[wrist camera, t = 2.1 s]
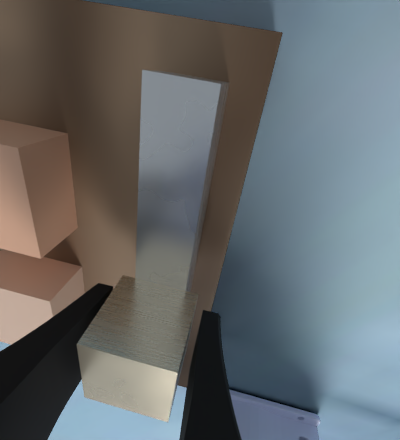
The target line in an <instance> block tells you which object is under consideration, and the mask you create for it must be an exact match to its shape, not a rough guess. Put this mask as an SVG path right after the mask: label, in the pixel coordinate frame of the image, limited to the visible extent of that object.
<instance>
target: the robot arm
mask: <svg viewBox="0 0 400 440" xmlns="http://www.w3.org/2000/svg"><path fill="white" fill-rule="evenodd" d="M112 291H113V286H109V285H106V284H102V283H98V284H96V285H95V286H93V287H92V288H91V289H89V290H88V291H87V292H86V293H84V294H83V295H82V296H80V297H79V298H78V299H76V300H75V301H74V302H72V303H71V304H70V305H68V306H67V307H66V308H64V309H63V310H62V311H60V312H59V313H57V314H56V315H55V316H53V317H52V318H50V319H49V320H48V321H46V322H45V323H43V324H42V325H41V326H39V327H38V328H36V329H35V330H33V331H31V332H30V333H28V334H27V335H25V336H24V337H22V338H21V339H19V340H18V341H16V342H15V343H13V344H12V345H10V346H8V347H7V348H5V349H4V350H2V351H0V440H47V439H48V437H49V435H50V433H51V431H52V429H53V427H54V425H55V423H56V422H57V420H58V418H59V416H60V414H61V412H62V411H63V409H64V407H65V405H66V403H67V402H68V400H69V399H70V397H71V395H72V394H73V392H74V390H75V389H76V387H77V386H78V384H79V382H80V381H81V379H82V377H81V371H80V364H79V357H78V351H77V343H78V341H79V340H80V338H81V337H82V335H83V334H84V332H85V331H86V330H87V328H88V327H89V325H90V324H91V322H92V321H93V319H94V318H95V316H96V315H97V313H98V312H99V310H100V309H101V307H102V306H103V304H104V303H105V301H106V300H107V298H108V297H109V295H110V294H111V292H112ZM220 318H221V316H220V315H219V314H218V313H214V312H210V311H206V310H203V312H202V316H201V321H200V325H199V329H198V334H197V338H196V342H195V347H194V351H193V356H192V360H191V364H190V369H189V376H188V383H187V390H186V397H185V404H184V411H183V419H182V426H181V433H180V439H179V440H319V436H318V430H317V426H318V425H319V424H320V418H319V416H318V415H317V414H314V413H311V412H307V411H304V410H300V409H296V408H293V407H289V406H286V405H282V404H279V403H275V402H272V401H268V400H265V399H261V398H258V397H254V396H251V395H247V394H244V393H240V392H236V391H233V390H229V386H228V381H227V375H226V369H225V364H224V357H223V350H222V341H221V328H220Z"/></svg>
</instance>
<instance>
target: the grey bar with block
mask: <svg viewBox="0 0 400 440" xmlns="http://www.w3.org/2000/svg"><path fill="white" fill-rule="evenodd" d="M229 84H230V83H229V82H223V81H217V80H212V79H206V78H201V77H195V76H190V75H184V74H179V73H173V72H164V71H152V70H142V87H141V118H140V149H139V180H138V210H137V241H136V272H135V278H133V277H129V276H125V275H123V276H122V277H121V279H120V280H119V282H118V283H117V285H116V286H115V288H114V289H113V291H112V292H111V294H110V295H109V297H108V298H107V300H106V301H105V303H104V304H103V306H102V307H101V309H100V310H99V312H98V313H97V315H96V316H95V318H94V319H93V321H92V322H91V324H90V325H89V327H88V328H87V330H86V331H85V332H84V334H83V335H82V337H81V338H80V340H79V341H78V343H77V351H78V357H79V364H80V371H81V377H82V384H83V391H84V397H86V398H89V399H92V400H96V401H99V402H102V403H105V404H109V405H112V406H115V407H119V408H122V409H125V410H129V411H132V412H135V413H139V414H142V415H145V416H149V417H152V418H155V419H159V420H162V421H165V422H168V421H169V417H170V413H171V409H172V405H173V401H174V397H175V393H176V389H177V385H178V381H179V377H180V373H181V369H182V365H183V361H184V357H185V353H186V349H187V345H188V341H189V336H190V331H191V327H192V322H193V317H194V312H195V308H196V303H197V298H198V294H196V293H192V292H191V287H192V282H193V276H194V271H195V266H196V260H197V255H198V250H199V244H200V239H201V234H202V228H203V223H204V218H205V212H206V207H207V202H208V196H209V191H210V186H211V180H212V175H213V170H214V164H215V159H216V153H217V148H218V143H219V137H220V132H221V127H222V121H223V116H224V111H225V105H226V100H227V95H228V89H229Z"/></svg>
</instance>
